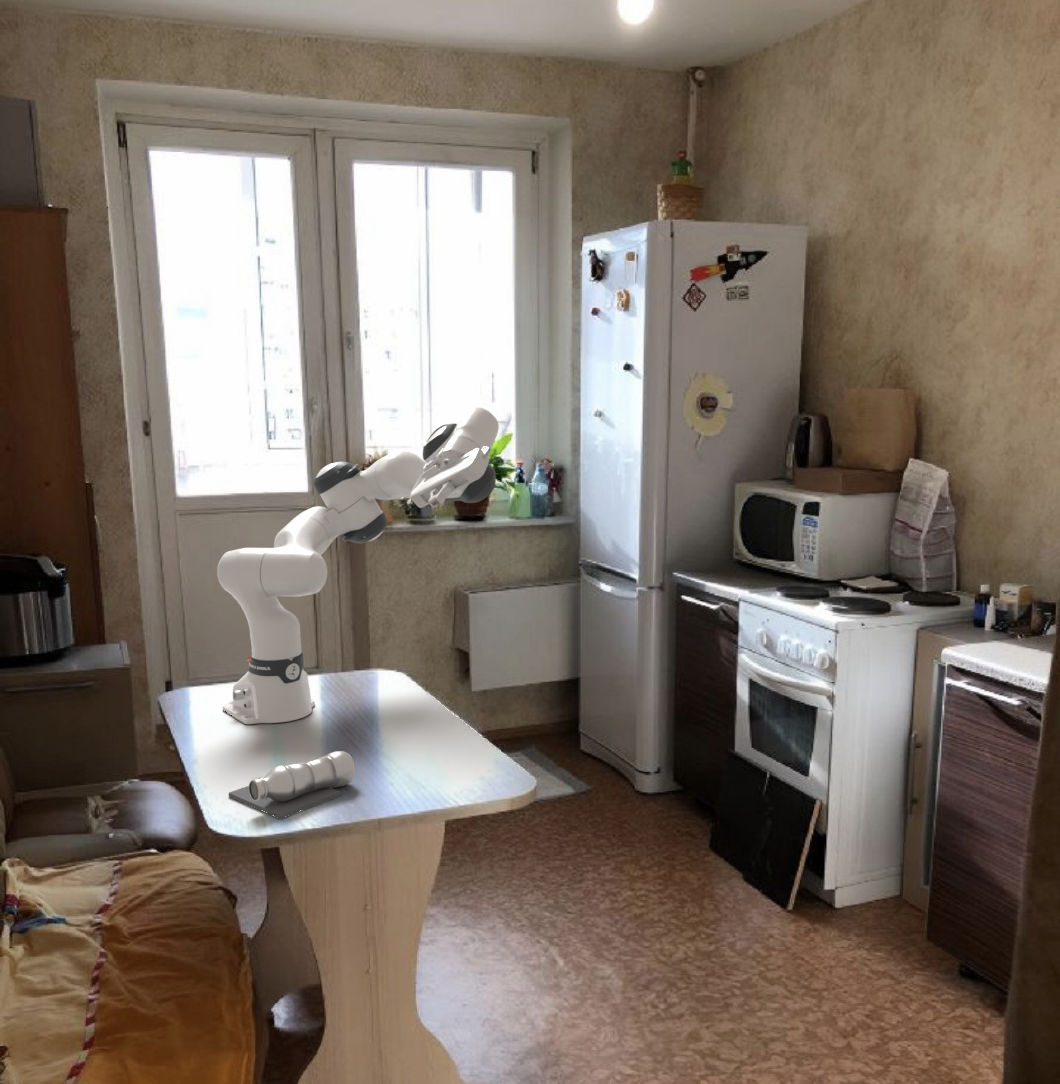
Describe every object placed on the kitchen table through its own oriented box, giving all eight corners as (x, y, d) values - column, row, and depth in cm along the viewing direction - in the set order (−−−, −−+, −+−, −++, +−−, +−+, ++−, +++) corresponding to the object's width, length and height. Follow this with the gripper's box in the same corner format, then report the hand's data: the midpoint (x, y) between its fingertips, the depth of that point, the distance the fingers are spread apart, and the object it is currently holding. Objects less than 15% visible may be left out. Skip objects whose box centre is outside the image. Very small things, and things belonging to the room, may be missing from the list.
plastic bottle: (344, 741, 186) (248, 764, 172) (363, 762, 182) (266, 787, 168) (337, 768, 189) (241, 793, 175) (355, 790, 184) (259, 817, 171)
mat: (228, 796, 180) (228, 792, 180) (288, 775, 190) (288, 771, 189) (280, 819, 169) (280, 815, 169) (340, 795, 179) (340, 791, 179)
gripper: (502, 454, 205) (479, 497, 195) (438, 487, 217) (414, 529, 208) (483, 432, 202) (458, 474, 193) (419, 467, 215) (393, 508, 206)
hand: (435, 503), depth 201 cm, fingers closed
